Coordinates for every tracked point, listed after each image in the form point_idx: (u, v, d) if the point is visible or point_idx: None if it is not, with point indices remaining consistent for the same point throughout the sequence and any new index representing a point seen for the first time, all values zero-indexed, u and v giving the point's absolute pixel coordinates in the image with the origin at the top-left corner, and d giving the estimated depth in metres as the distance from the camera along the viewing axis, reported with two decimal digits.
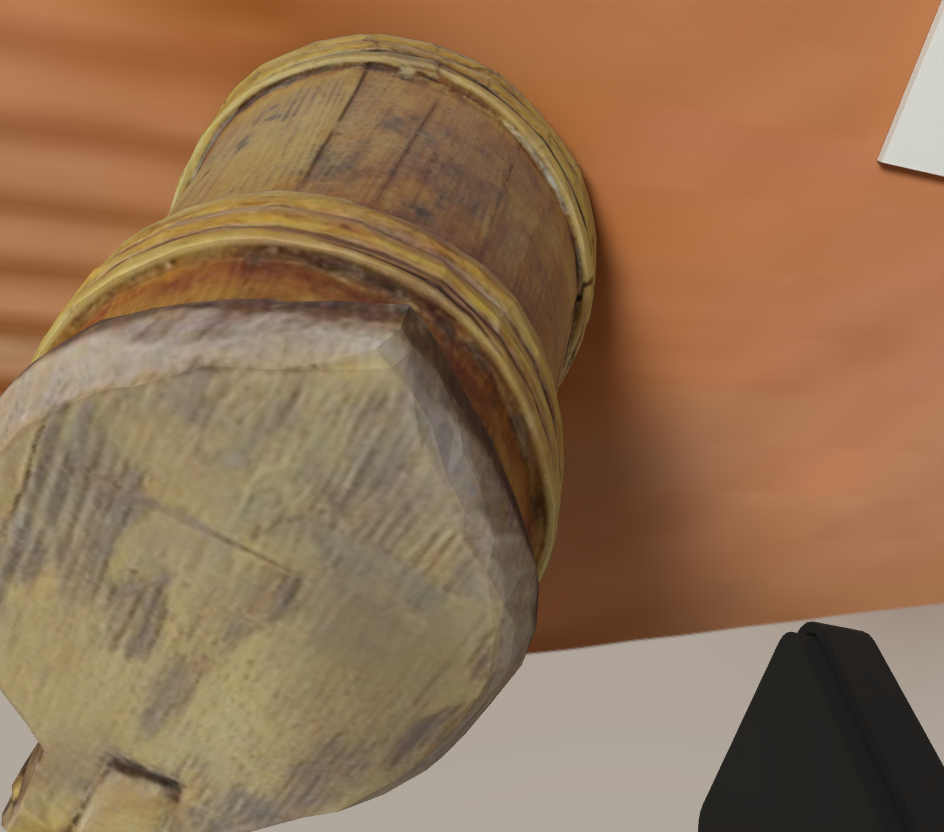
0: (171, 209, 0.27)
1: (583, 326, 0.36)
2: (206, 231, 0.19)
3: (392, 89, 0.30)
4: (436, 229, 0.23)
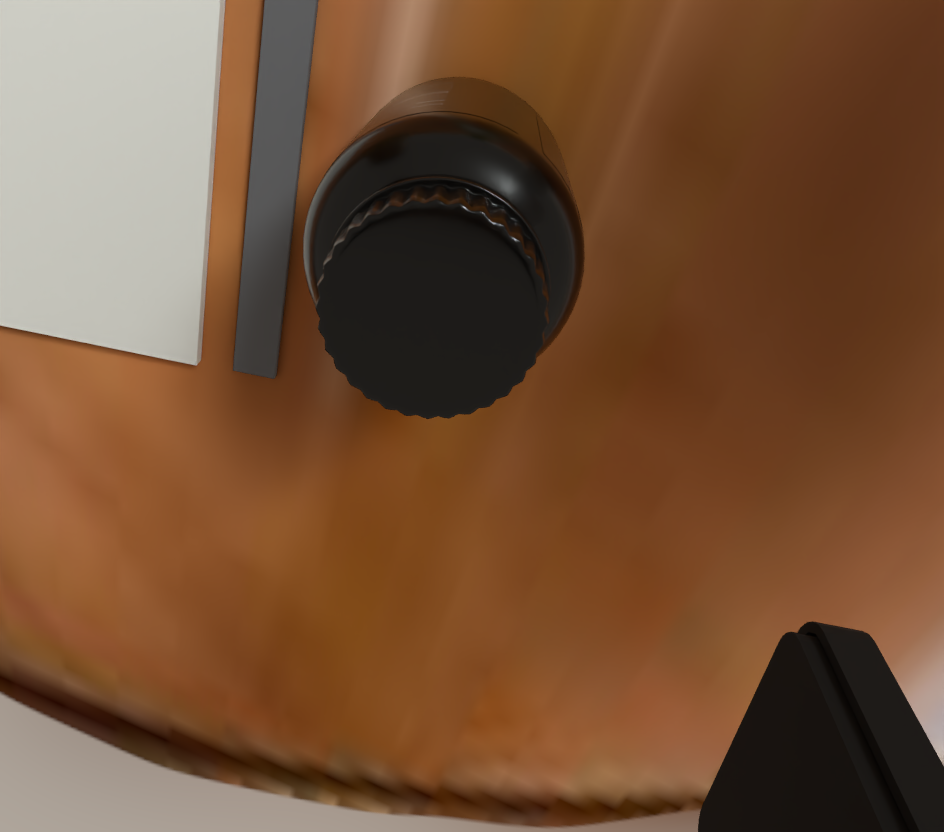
0: None
1: None
2: None
3: None
4: None
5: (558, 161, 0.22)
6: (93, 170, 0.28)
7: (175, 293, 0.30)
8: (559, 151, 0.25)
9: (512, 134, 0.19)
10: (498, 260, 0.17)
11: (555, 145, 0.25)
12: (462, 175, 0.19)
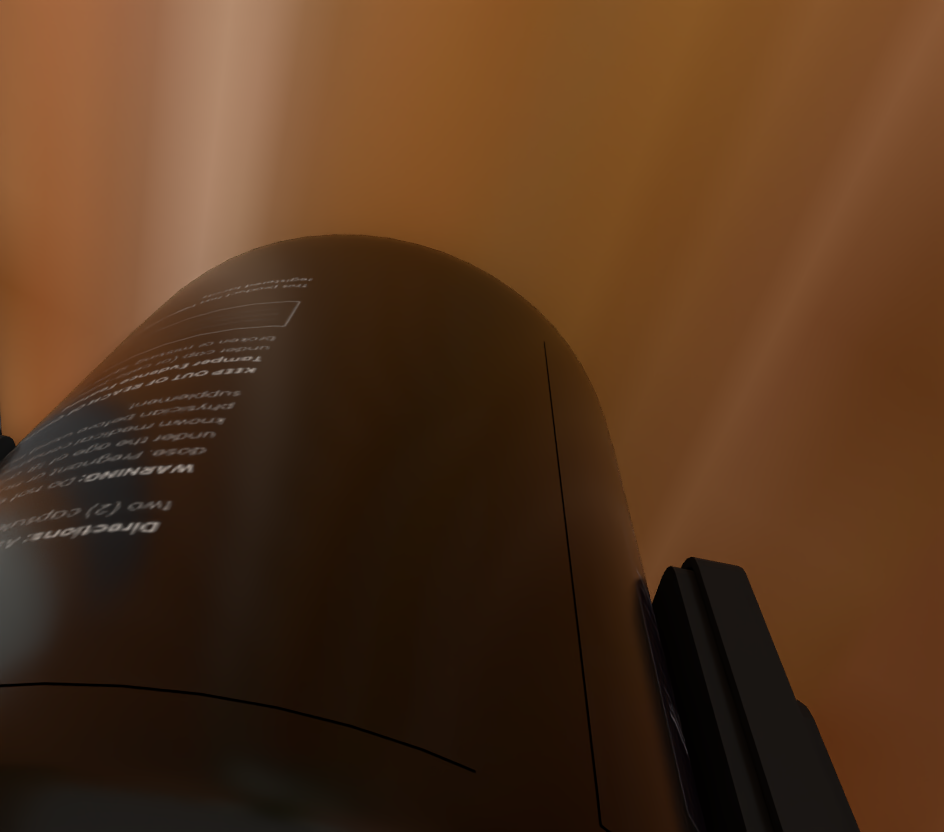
0: None
1: None
2: None
3: None
4: None
5: (636, 649, 0.06)
6: None
7: None
8: (607, 444, 0.10)
9: None
10: None
11: (601, 454, 0.09)
12: None
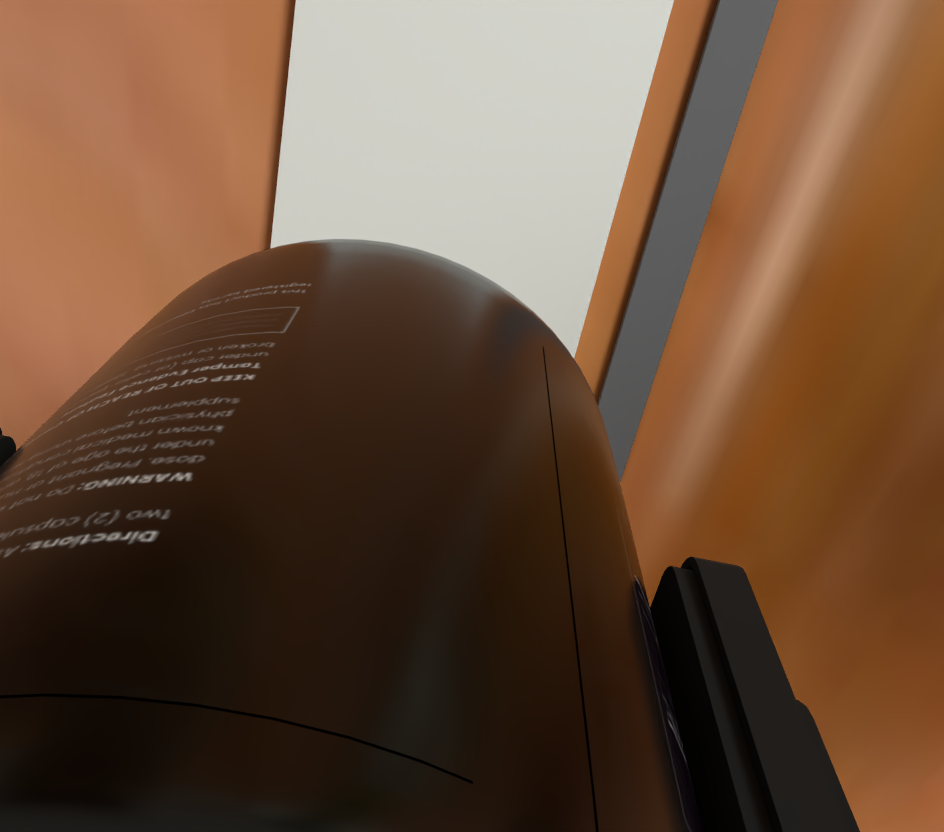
0: None
1: None
2: None
3: None
4: None
5: (634, 657, 0.06)
6: None
7: None
8: (606, 449, 0.10)
9: None
10: None
11: (600, 459, 0.09)
12: None
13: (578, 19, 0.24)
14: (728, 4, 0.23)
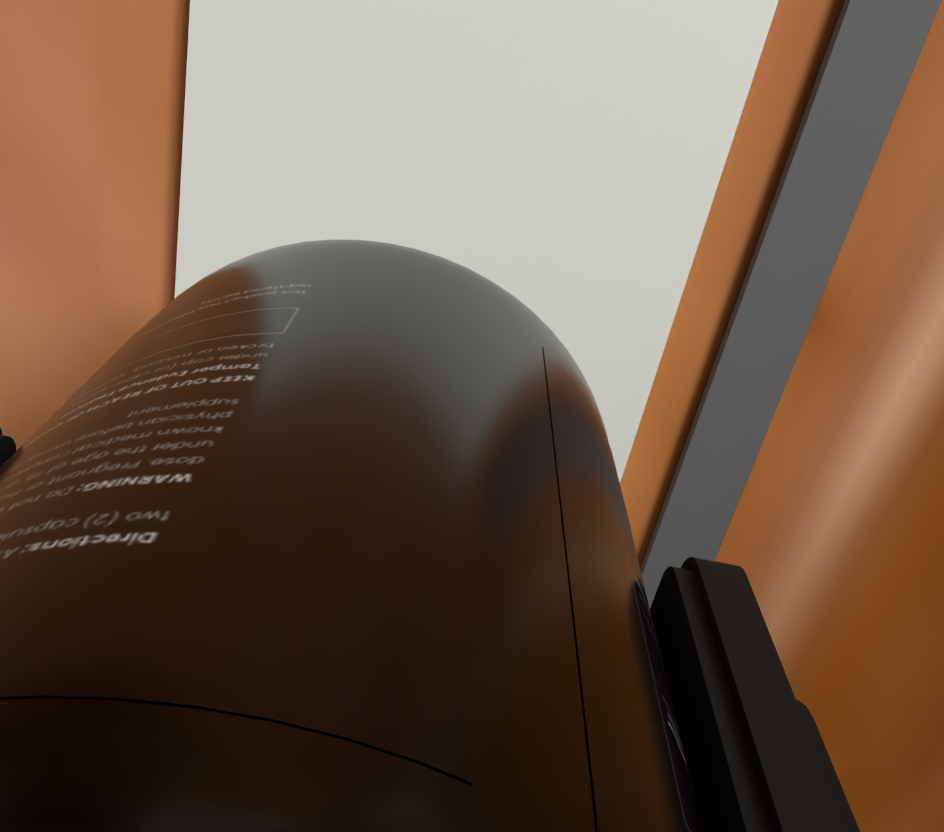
0: None
1: None
2: None
3: None
4: None
5: (634, 658, 0.06)
6: None
7: None
8: (606, 450, 0.10)
9: None
10: None
11: (600, 460, 0.09)
12: None
13: (626, 32, 0.15)
14: (861, 8, 0.15)
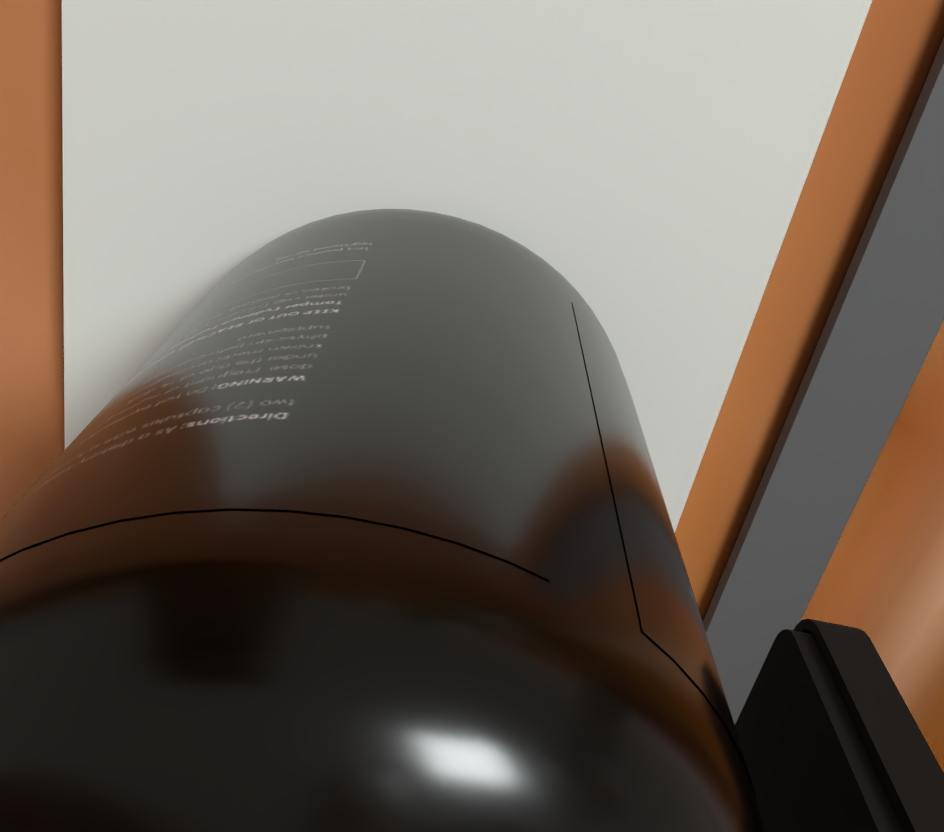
0: None
1: None
2: None
3: None
4: None
5: (661, 536, 0.07)
6: None
7: None
8: (628, 392, 0.11)
9: (530, 617, 0.05)
10: None
11: (624, 396, 0.10)
12: None
13: (658, 53, 0.11)
14: None
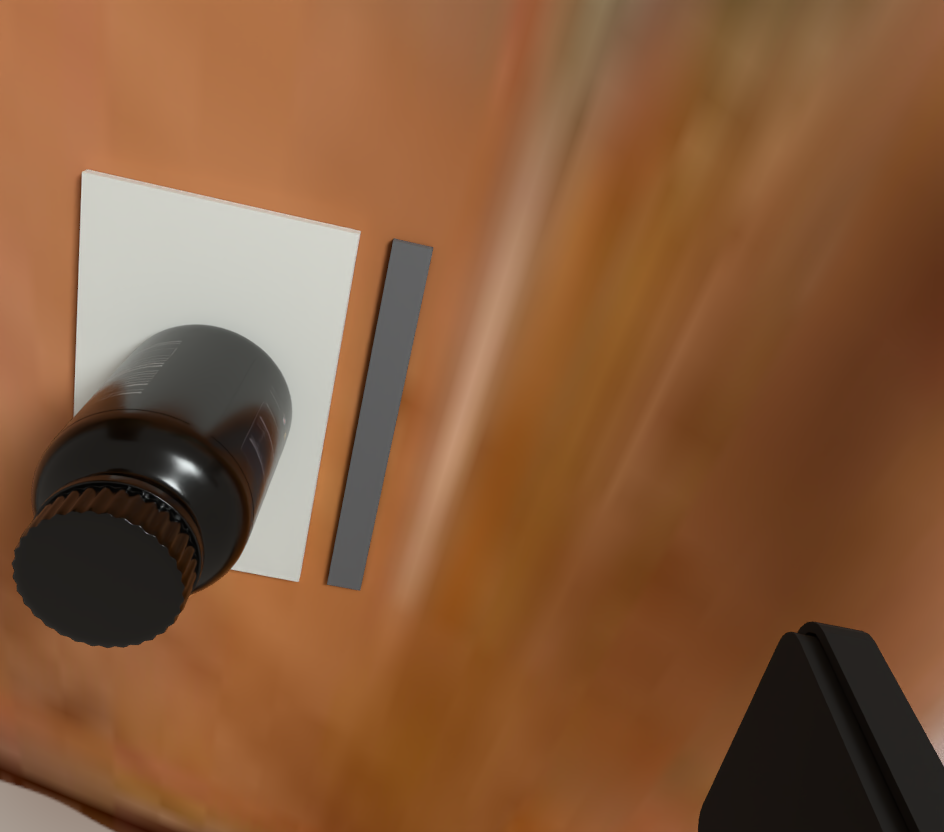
0: None
1: None
2: None
3: None
4: None
5: (241, 424, 0.29)
6: None
7: (287, 531, 0.38)
8: (272, 389, 0.32)
9: (181, 428, 0.26)
10: (140, 548, 0.24)
11: (263, 390, 0.31)
12: (135, 467, 0.25)
13: (286, 273, 0.33)
14: (395, 265, 0.33)
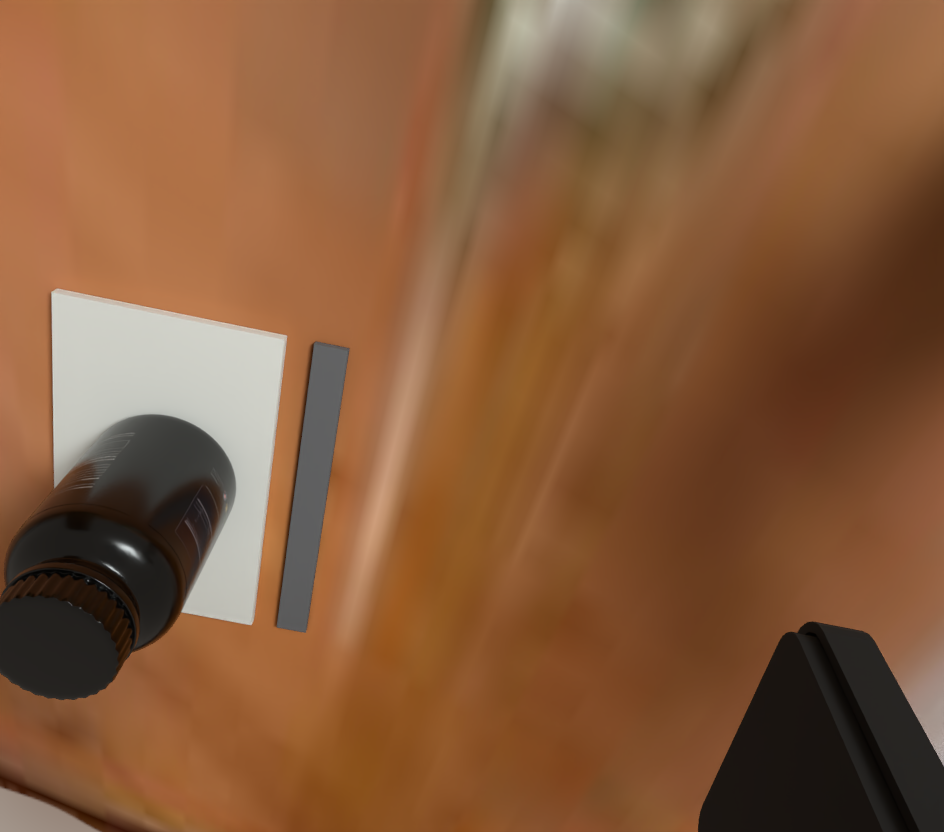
0: None
1: None
2: None
3: None
4: None
5: (178, 509, 0.34)
6: None
7: (239, 582, 0.43)
8: (213, 471, 0.38)
9: (121, 519, 0.32)
10: (81, 624, 0.30)
11: (203, 473, 0.37)
12: (82, 553, 0.31)
13: (225, 372, 0.38)
14: (317, 363, 0.38)
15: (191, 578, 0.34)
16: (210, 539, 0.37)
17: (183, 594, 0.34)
